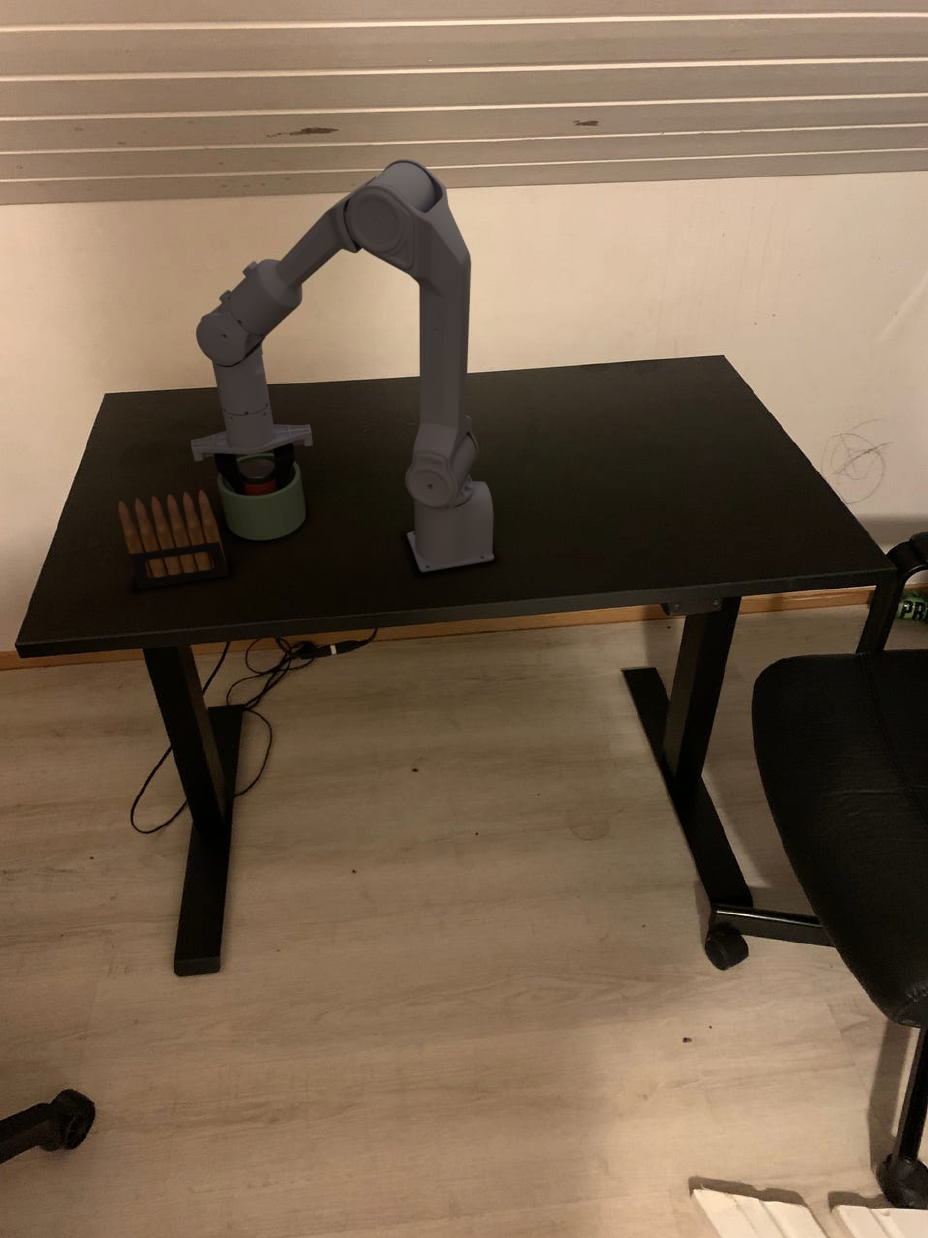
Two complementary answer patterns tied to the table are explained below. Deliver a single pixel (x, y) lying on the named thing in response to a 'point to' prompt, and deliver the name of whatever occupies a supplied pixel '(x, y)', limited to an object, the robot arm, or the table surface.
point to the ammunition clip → (173, 543)
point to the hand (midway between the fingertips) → (263, 497)
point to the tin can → (258, 477)
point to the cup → (264, 506)
